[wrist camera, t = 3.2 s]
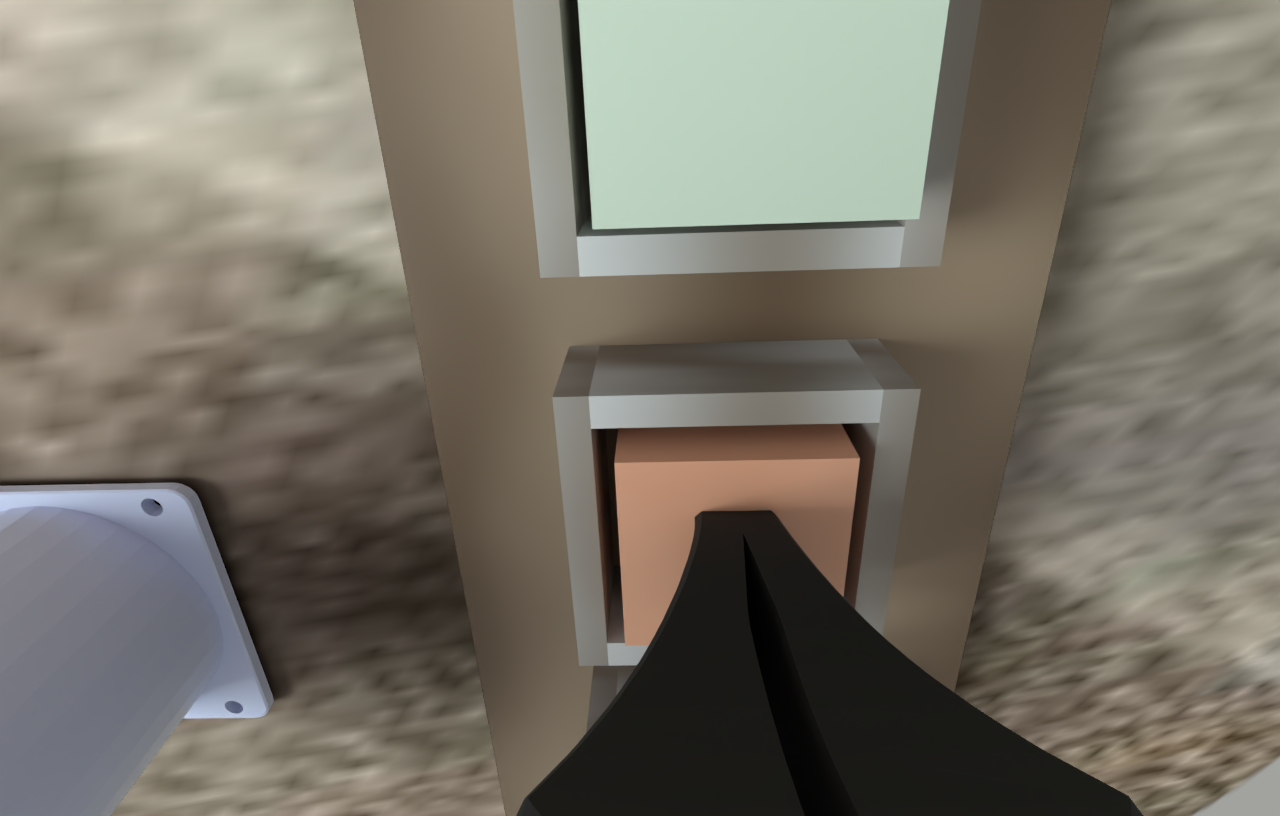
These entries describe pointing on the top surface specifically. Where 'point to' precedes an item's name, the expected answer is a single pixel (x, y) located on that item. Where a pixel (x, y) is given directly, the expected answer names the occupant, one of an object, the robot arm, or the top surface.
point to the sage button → (758, 109)
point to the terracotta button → (725, 500)
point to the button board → (706, 333)
